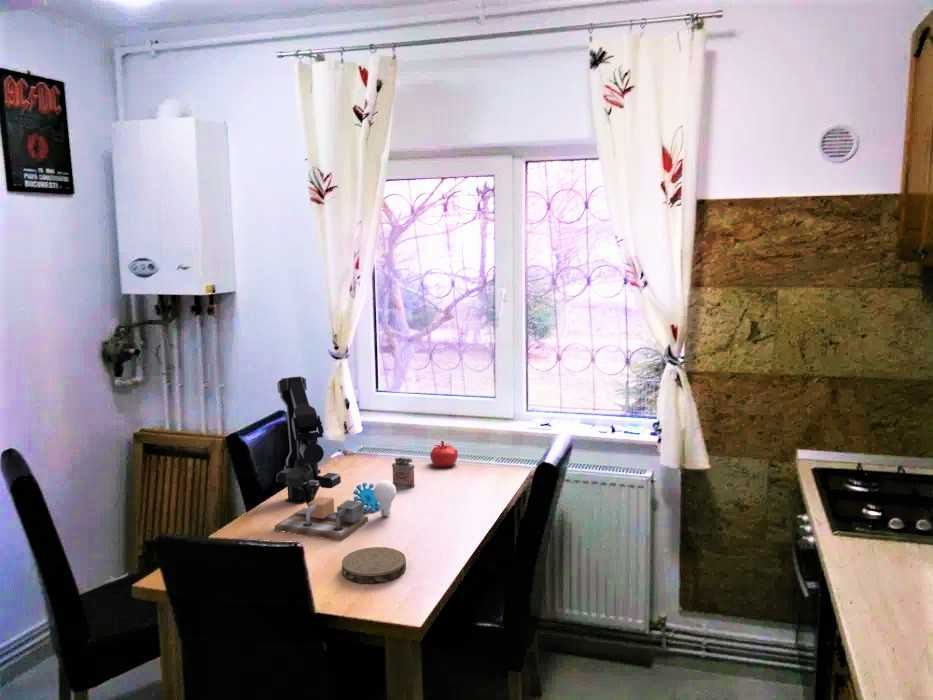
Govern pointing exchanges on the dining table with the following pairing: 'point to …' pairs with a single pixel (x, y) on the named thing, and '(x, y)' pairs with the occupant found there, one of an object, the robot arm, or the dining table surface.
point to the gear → (366, 497)
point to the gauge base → (327, 522)
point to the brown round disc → (373, 565)
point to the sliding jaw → (319, 508)
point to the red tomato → (443, 455)
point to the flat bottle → (403, 473)
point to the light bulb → (385, 496)
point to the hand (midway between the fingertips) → (309, 506)
